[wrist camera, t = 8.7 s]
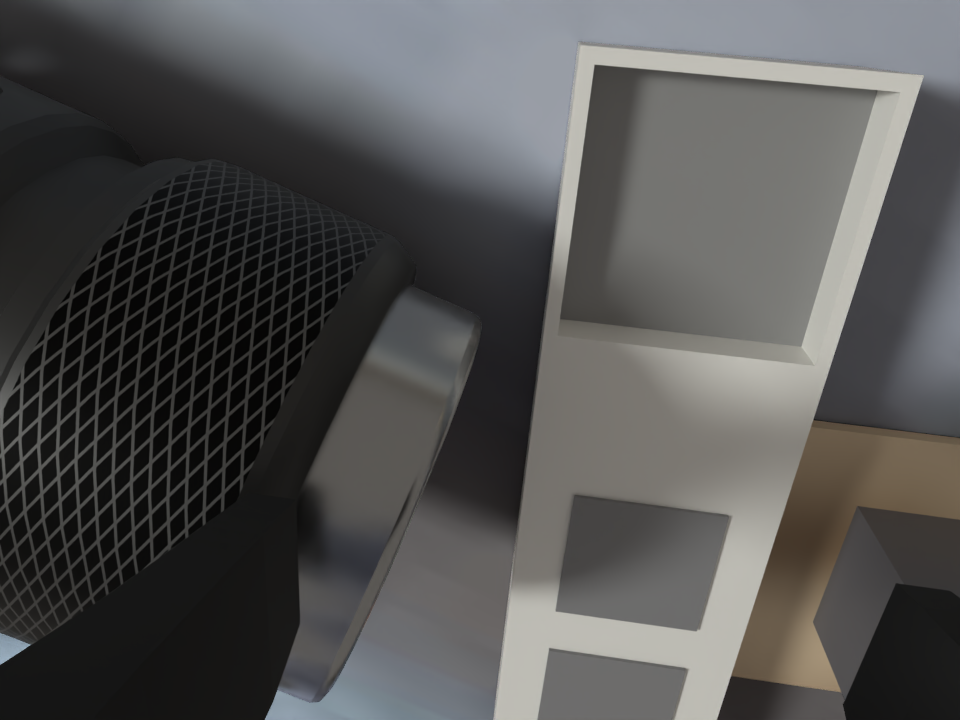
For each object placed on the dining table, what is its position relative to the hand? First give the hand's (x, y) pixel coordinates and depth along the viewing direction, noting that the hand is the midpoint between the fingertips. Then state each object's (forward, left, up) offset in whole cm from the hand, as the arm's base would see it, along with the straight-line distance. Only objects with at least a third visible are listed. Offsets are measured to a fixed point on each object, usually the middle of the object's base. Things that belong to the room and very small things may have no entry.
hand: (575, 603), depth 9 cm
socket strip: (-4, -2, -10) cm, 11 cm away
